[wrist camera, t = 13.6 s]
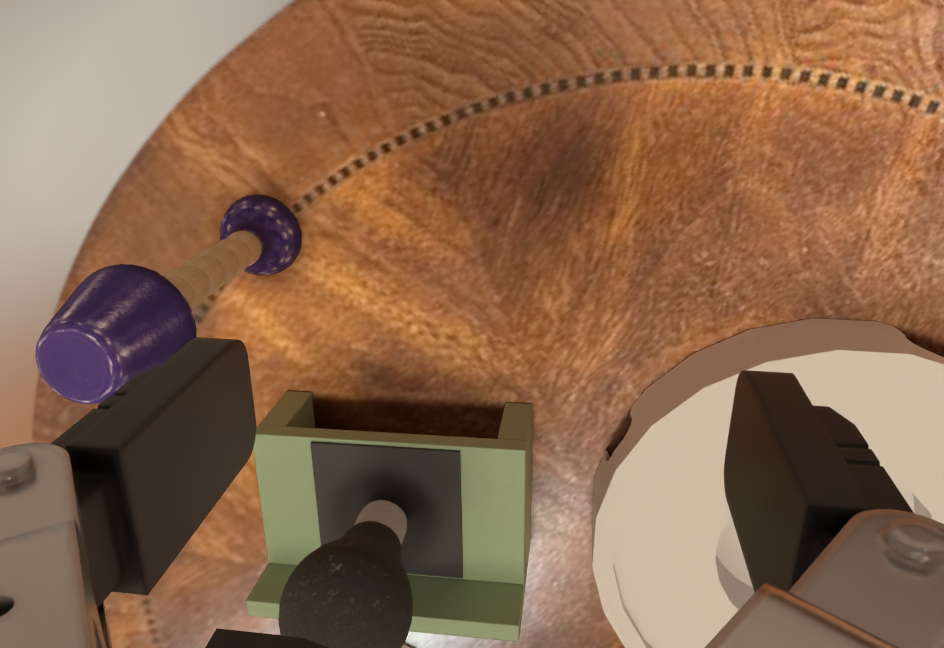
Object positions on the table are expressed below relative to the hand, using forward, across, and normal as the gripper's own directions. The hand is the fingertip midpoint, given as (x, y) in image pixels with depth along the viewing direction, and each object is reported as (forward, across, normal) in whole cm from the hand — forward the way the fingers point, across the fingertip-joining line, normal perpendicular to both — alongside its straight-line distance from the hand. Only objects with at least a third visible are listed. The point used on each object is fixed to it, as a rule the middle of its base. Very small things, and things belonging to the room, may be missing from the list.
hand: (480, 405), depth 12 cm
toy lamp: (+26, +14, +5) cm, 30 cm away
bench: (+26, +7, +18) cm, 32 cm away
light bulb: (+21, +7, +18) cm, 28 cm away
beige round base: (+26, -15, +19) cm, 35 cm away
